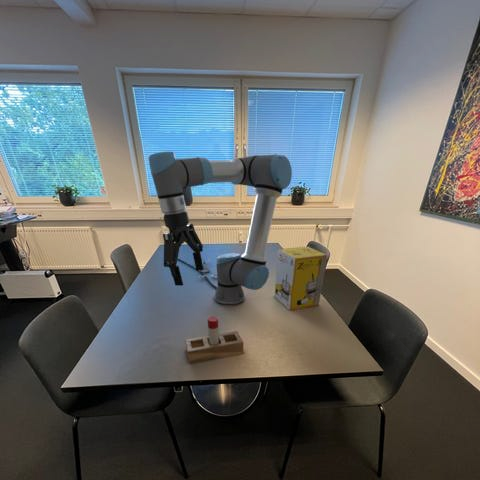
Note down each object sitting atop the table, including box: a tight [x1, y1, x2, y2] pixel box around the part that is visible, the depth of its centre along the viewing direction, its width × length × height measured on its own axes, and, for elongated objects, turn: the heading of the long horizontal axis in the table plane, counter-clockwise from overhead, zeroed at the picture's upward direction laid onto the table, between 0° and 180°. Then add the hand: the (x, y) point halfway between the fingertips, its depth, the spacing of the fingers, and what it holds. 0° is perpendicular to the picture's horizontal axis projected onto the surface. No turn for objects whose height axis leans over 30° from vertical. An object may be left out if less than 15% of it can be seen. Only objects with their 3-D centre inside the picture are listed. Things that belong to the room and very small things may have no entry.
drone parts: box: [198, 259, 217, 279], centre depth 171 cm, size 23×35×3 cm, turn 12°
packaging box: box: [274, 246, 328, 311], centre depth 126 cm, size 16×16×25 cm
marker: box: [207, 315, 220, 345], centre depth 91 cm, size 4×4×14 cm
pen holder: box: [184, 330, 244, 364], centre depth 93 cm, size 8×20×5 cm, turn 107°
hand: (190, 277), depth 90 cm, fingers open, 13 cm apart
